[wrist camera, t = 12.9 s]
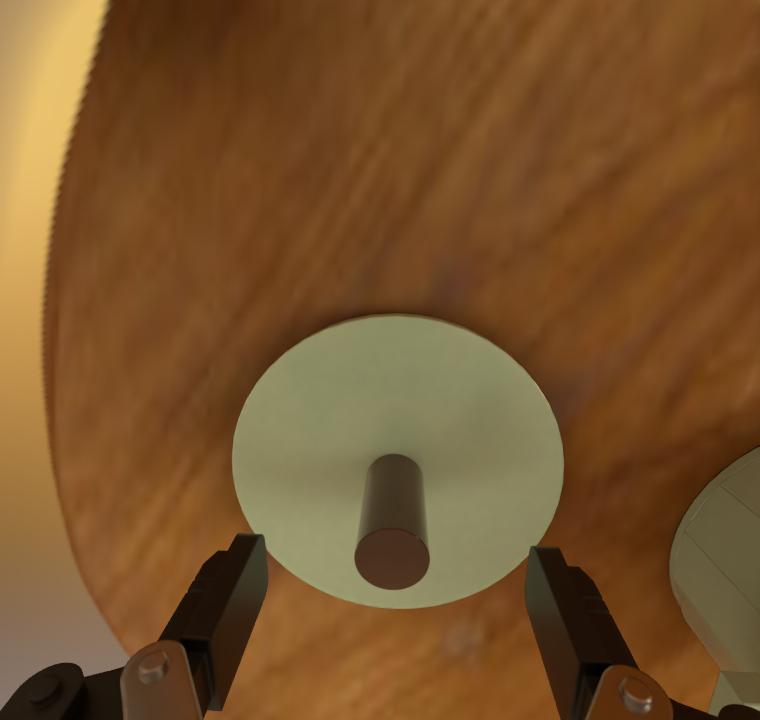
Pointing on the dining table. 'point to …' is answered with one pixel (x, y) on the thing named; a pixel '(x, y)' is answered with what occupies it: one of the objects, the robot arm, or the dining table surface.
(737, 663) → the pot
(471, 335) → the lid
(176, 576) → the dining table surface
